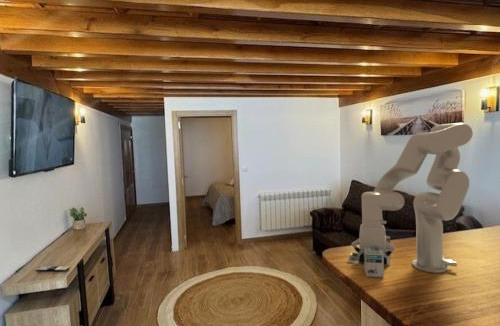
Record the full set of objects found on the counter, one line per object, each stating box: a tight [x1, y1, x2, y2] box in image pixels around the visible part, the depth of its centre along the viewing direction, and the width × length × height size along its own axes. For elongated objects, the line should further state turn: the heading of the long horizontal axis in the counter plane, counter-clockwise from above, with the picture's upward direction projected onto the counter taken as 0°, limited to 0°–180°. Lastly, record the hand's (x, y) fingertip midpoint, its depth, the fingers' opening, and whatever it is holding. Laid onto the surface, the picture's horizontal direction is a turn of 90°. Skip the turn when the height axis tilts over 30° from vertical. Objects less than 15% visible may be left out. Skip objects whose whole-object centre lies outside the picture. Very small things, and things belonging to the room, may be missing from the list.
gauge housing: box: [347, 235, 391, 265], centre depth 136 cm, size 17×12×10 cm
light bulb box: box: [363, 247, 385, 278], centre depth 123 cm, size 11×7×11 cm, turn 167°
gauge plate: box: [349, 246, 391, 266], centre depth 133 cm, size 16×1×9 cm, turn 63°
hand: (373, 264), depth 124 cm, fingers closed on light bulb box, 7 cm apart
